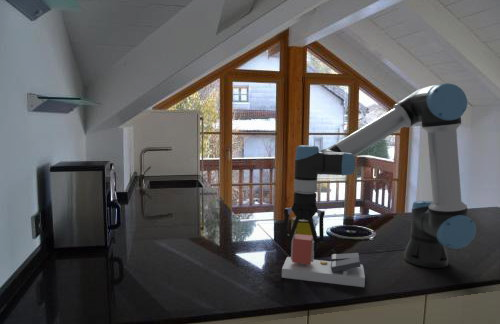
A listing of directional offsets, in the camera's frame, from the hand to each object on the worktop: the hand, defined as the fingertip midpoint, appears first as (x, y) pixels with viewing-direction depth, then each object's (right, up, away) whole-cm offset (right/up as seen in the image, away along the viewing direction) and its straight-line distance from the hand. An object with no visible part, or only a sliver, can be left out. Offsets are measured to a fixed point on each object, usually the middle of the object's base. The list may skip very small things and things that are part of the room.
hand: (302, 259), depth 128 cm
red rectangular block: (0, 0, 0) cm, 0 cm away
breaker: (+13, 0, -6) cm, 14 cm away
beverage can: (+4, -3, +28) cm, 29 cm away
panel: (+7, -5, -1) cm, 9 cm away
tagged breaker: (+14, 0, 0) cm, 14 cm away
